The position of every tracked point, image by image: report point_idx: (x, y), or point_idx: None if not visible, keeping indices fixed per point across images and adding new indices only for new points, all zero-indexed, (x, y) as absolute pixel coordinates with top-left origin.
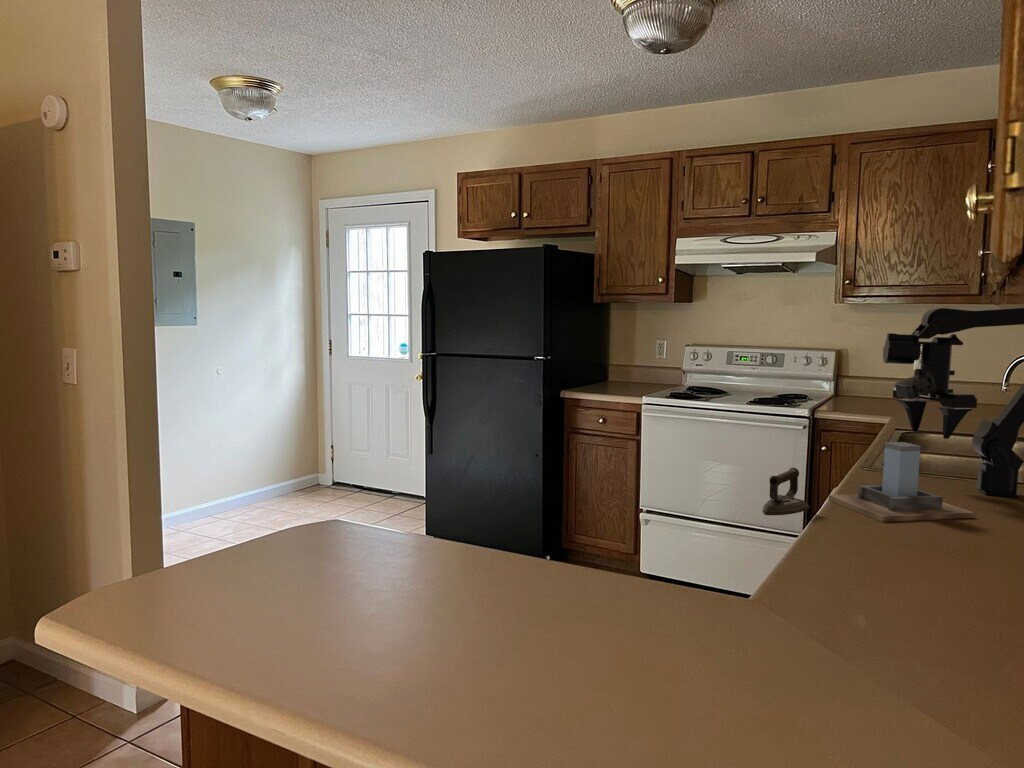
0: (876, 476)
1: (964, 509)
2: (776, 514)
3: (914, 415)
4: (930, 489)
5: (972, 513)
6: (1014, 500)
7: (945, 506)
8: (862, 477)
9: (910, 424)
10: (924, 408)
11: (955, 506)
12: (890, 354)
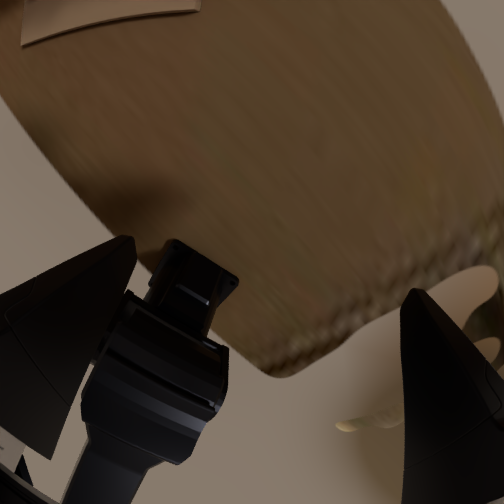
0: (463, 151)
1: (36, 39)
2: None
3: (446, 391)
4: (269, 149)
5: (22, 42)
6: None
7: (58, 9)
8: (471, 94)
9: (450, 318)
10: (403, 477)
11: (53, 32)
12: None
